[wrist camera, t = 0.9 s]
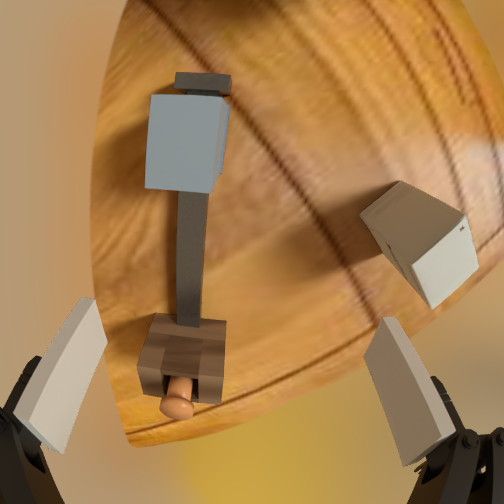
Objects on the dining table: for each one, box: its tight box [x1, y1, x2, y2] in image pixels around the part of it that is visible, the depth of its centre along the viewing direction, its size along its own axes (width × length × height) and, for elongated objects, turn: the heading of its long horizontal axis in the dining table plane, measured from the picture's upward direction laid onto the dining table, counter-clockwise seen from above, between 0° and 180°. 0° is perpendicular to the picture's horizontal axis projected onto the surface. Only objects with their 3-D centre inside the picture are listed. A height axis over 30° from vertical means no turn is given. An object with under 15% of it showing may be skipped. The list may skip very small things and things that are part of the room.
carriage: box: [145, 94, 230, 194], centre depth 22 cm, size 7×5×10 cm
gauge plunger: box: [160, 376, 194, 420], centre depth 29 cm, size 4×4×6 cm
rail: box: [174, 72, 232, 328], centre depth 29 cm, size 30×5×4 cm, turn 172°
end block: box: [137, 313, 226, 405], centre depth 34 cm, size 6×10×10 cm, turn 82°
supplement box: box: [359, 181, 479, 310], centre depth 26 cm, size 7×7×13 cm
